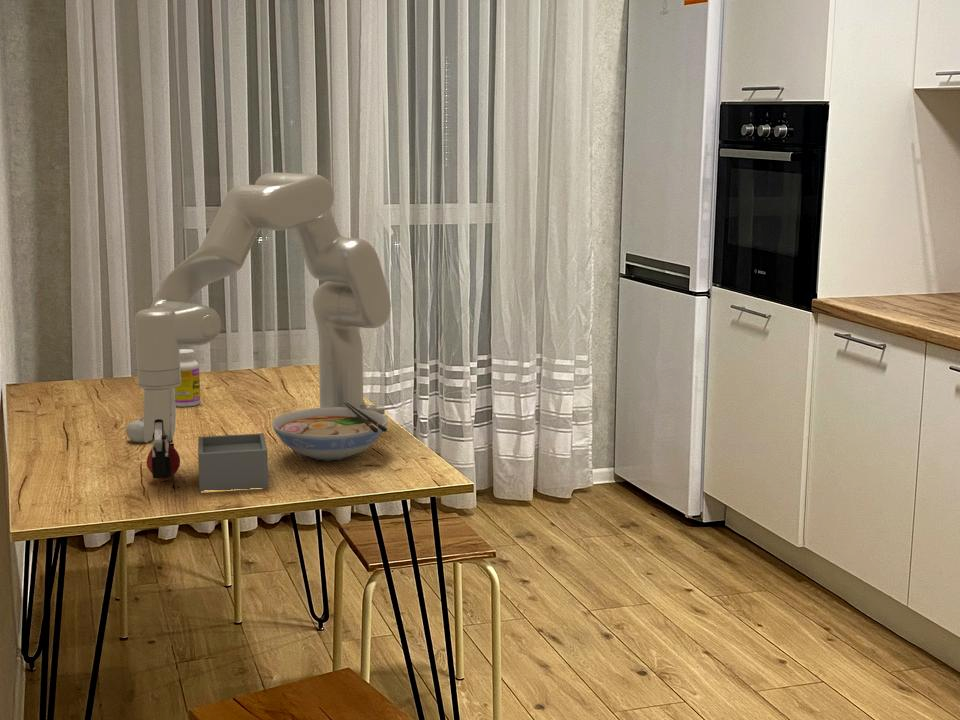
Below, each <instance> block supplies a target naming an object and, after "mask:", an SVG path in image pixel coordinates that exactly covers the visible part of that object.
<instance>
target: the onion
mask: <svg viewBox="0 0 960 720" xmlns="http://www.w3.org/2000/svg"><path fill="white" fill-rule="evenodd" d="M170 444H171V443H170ZM170 444H169V456H170V459H171V477H170V478H172V477H173V476H174V475H175V474H176V473H177V471H178V470H179V468H180V465H181V457H180V454H179V453H178V451H177V449H176V447H175V446H174V447H173V446H171V445H170ZM162 445H164V446H165V444H162ZM146 466H147V469H148V470H149V472H150V473H151V474H152V448H151V449H150V450H149V453H148V455H147V458H146ZM170 478H158V479H159V480H160V481H161V480H166V481H167V479H168V480H169V479H170Z"/></svg>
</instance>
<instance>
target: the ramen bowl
mask: <svg viewBox="0 0 960 720" xmlns="http://www.w3.org/2000/svg"><path fill="white" fill-rule="evenodd" d="M344 404H345V403H344ZM347 404H348V405H350V404H349V403H347ZM347 404H345V405H346V406H347V407H348V408H344V407H329V408H320V407H315V408H307V409H298V410H294V411H290V412H286V413H283V414H281V415H278V416H277V417H275V418H273V419H272V422H271V423H272V424H271V426H272V428H273V430H274V433H275V434H276V435H277V437H278V438H279V439H280V440H281V442H282V443H283V444H284V445H285V446H286V447H288V448H290V449H291V450H293V451H294V452H296V453H297V454H298V455H303V456H305V457H310V458H312V459H314V460H315V459H317V460H316V461H319V460H326V461H325V462H330V461H329V460H339V461H342V460H341V459H343V460H346V459H348V458H349V457H350V456H354V455H357V454H359V453H362V452H364V451H365V450H367V449H368V448H369V447H371V446H372V445H373V444H375V443H376V441H377V440H378V439H379V438H380V436H381V435H382V433H383V432H384V433H386V432H388V429H387V427H386V426H387V424H388V418H387V416H386V415H385V414H380V413H378V412H375V411H370V410H365V409H360V408H355V407H353V406H352V405H350V406H351V407H352V408H350V407H349V406H348V405H347ZM345 458H346V459H345Z"/></svg>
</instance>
